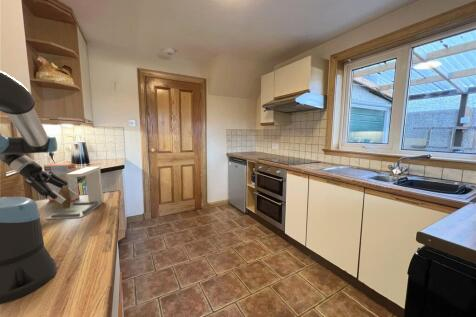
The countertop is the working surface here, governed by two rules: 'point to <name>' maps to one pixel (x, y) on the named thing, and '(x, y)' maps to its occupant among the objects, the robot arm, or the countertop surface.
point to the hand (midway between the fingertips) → (69, 198)
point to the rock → (65, 194)
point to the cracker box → (61, 172)
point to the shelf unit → (93, 195)
